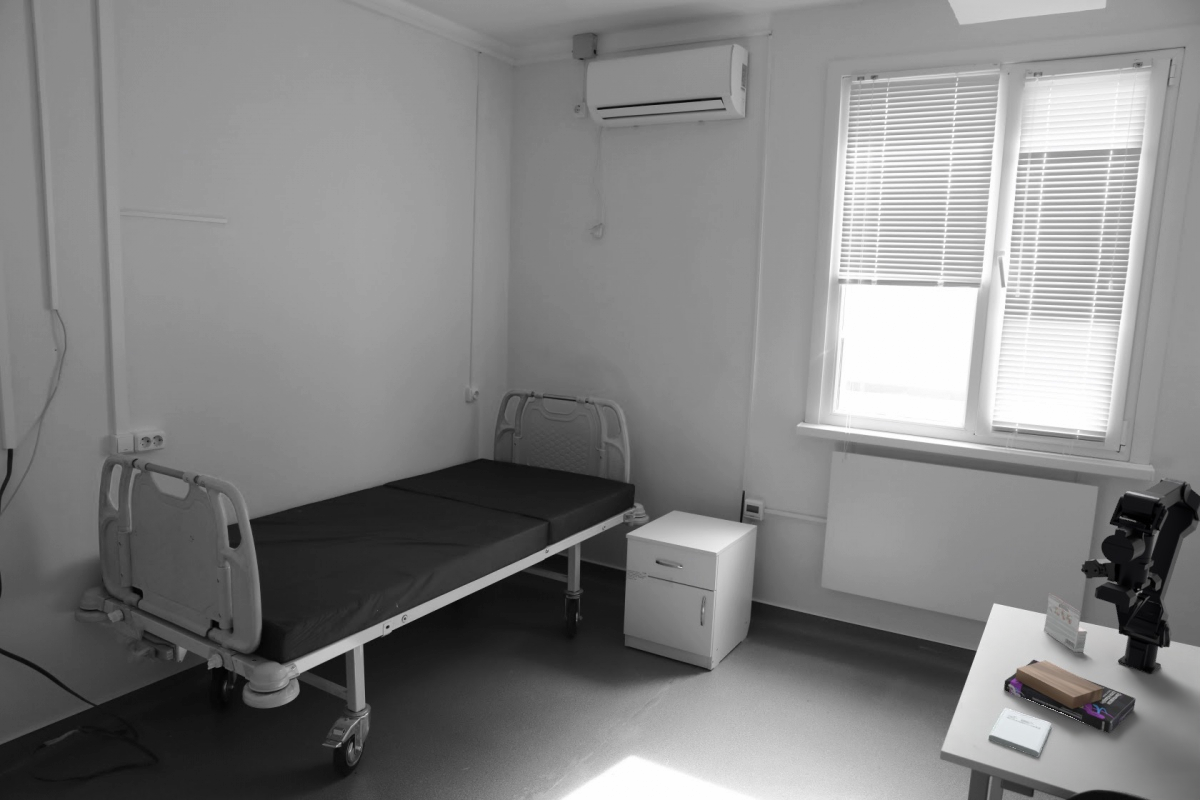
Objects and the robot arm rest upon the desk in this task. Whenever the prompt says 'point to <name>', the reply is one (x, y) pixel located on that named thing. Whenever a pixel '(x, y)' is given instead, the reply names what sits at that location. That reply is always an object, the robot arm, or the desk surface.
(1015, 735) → the external hard drive
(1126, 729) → the desk surface
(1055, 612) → the ink cartridge box
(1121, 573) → the robot arm
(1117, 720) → the box
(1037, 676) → the walnut board
